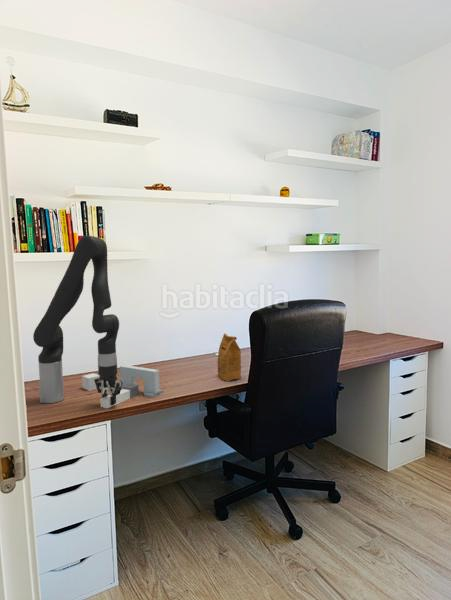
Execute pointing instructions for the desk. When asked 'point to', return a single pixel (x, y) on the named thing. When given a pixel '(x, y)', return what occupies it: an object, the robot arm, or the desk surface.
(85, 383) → the white cube
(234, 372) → the coffee package
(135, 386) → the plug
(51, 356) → the robot arm
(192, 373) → the desk surface
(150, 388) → the port plate
